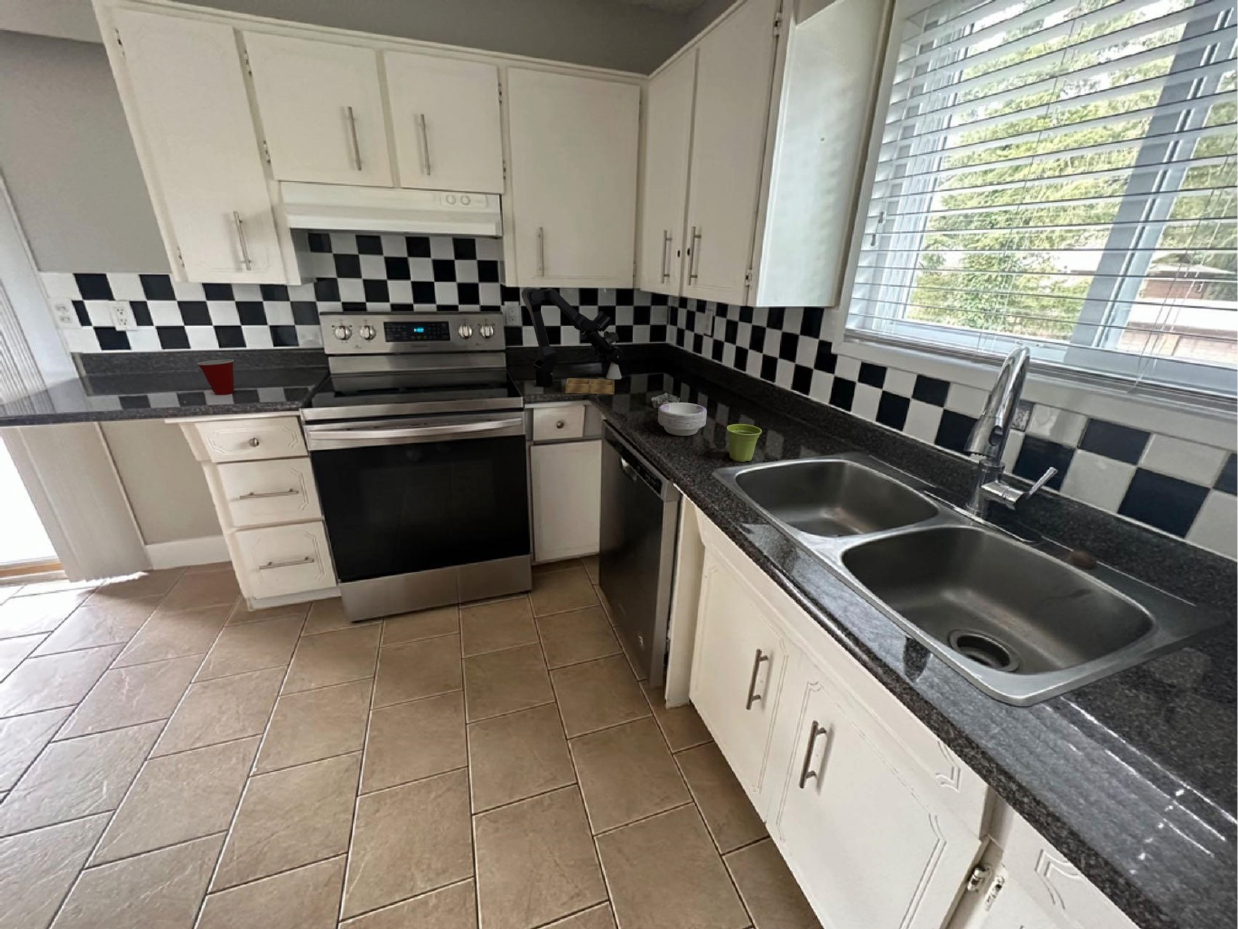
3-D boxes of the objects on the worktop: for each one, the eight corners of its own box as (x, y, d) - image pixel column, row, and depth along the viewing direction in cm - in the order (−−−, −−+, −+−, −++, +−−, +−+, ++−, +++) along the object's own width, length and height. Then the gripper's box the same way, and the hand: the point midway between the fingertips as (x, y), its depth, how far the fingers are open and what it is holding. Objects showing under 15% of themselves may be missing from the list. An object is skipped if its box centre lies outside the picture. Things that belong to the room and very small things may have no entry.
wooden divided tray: (565, 392, 201) (565, 384, 200) (567, 386, 211) (567, 378, 209) (614, 394, 202) (614, 385, 200) (613, 388, 211) (614, 379, 210)
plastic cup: (233, 387, 191) (224, 356, 186) (248, 392, 186) (239, 359, 182) (199, 393, 182) (190, 360, 178) (214, 398, 177) (205, 364, 173)
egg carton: (665, 410, 183) (666, 400, 181) (648, 406, 187) (649, 396, 185) (681, 405, 190) (682, 394, 189) (665, 401, 195) (666, 390, 193)
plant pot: (720, 461, 138) (724, 431, 135) (726, 450, 147) (729, 422, 143) (755, 466, 135) (759, 436, 132) (759, 455, 144) (763, 426, 140)
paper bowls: (654, 424, 167) (655, 401, 164) (698, 424, 169) (701, 401, 166) (660, 439, 153) (662, 414, 150) (709, 439, 155) (712, 415, 152)
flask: (622, 376, 232) (623, 355, 228) (620, 380, 225) (621, 357, 221) (607, 375, 232) (607, 354, 228) (605, 379, 226) (605, 357, 222)
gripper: (618, 328, 210) (639, 353, 220) (597, 323, 225) (618, 346, 235) (601, 348, 210) (623, 372, 219) (582, 341, 224) (602, 364, 234)
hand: (617, 363), depth 227 cm, fingers closed on flask, 3 cm apart
